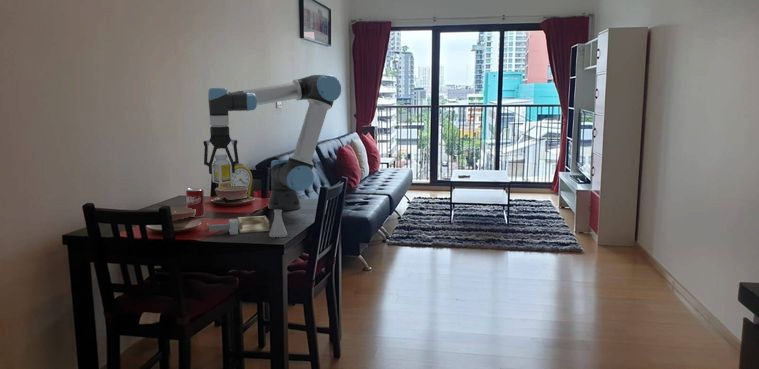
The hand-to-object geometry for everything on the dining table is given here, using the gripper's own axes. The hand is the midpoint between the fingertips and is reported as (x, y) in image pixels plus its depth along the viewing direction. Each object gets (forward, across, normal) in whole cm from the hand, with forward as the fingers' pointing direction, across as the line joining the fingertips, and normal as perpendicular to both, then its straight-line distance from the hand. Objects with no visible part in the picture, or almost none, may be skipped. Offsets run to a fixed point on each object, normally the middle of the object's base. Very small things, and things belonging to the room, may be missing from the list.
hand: (222, 181), depth 234 cm
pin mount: (+17, -2, +21) cm, 27 cm away
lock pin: (+16, +2, +21) cm, 26 cm away
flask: (+18, -18, +30) cm, 40 cm away
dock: (+17, -10, +15) cm, 25 cm away
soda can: (+17, +12, -14) cm, 25 cm away
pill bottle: (+1, 0, 0) cm, 1 cm away
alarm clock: (+18, -8, -52) cm, 55 cm away
